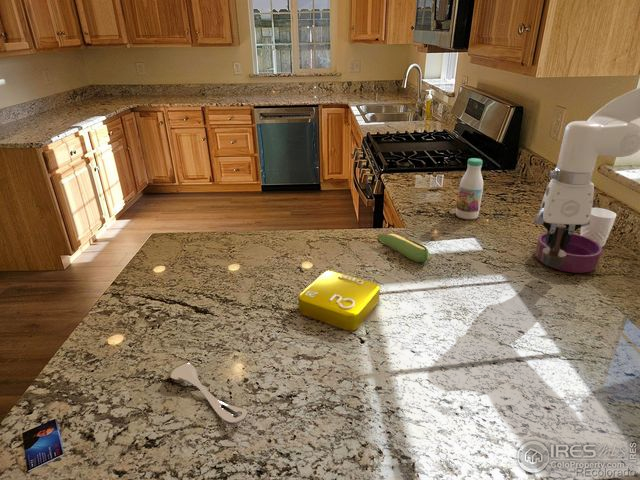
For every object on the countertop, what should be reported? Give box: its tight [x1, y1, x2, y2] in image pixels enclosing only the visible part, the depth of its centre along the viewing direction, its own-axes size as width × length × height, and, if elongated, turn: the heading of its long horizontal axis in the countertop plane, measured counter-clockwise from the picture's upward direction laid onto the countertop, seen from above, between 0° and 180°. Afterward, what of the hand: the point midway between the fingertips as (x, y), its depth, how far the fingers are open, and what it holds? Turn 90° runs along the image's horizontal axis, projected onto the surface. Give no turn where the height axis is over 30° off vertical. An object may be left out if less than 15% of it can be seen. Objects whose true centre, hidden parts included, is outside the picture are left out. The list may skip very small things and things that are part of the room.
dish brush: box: [540, 224, 566, 268], centre depth 107 cm, size 5×5×10 cm
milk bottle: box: [455, 157, 484, 220], centre depth 144 cm, size 8×8×20 cm
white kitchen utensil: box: [168, 361, 248, 424], centre depth 74 cm, size 20×4×5 cm
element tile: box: [298, 270, 381, 332], centre depth 99 cm, size 15×15×5 cm
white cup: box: [579, 207, 617, 248], centre depth 127 cm, size 8×8×10 cm
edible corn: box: [376, 232, 431, 263], centre depth 123 cm, size 5×20×5 cm, turn 35°
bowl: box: [534, 231, 603, 274], centre depth 118 cm, size 15×15×6 cm
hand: (555, 245), depth 107 cm, fingers closed on dish brush
